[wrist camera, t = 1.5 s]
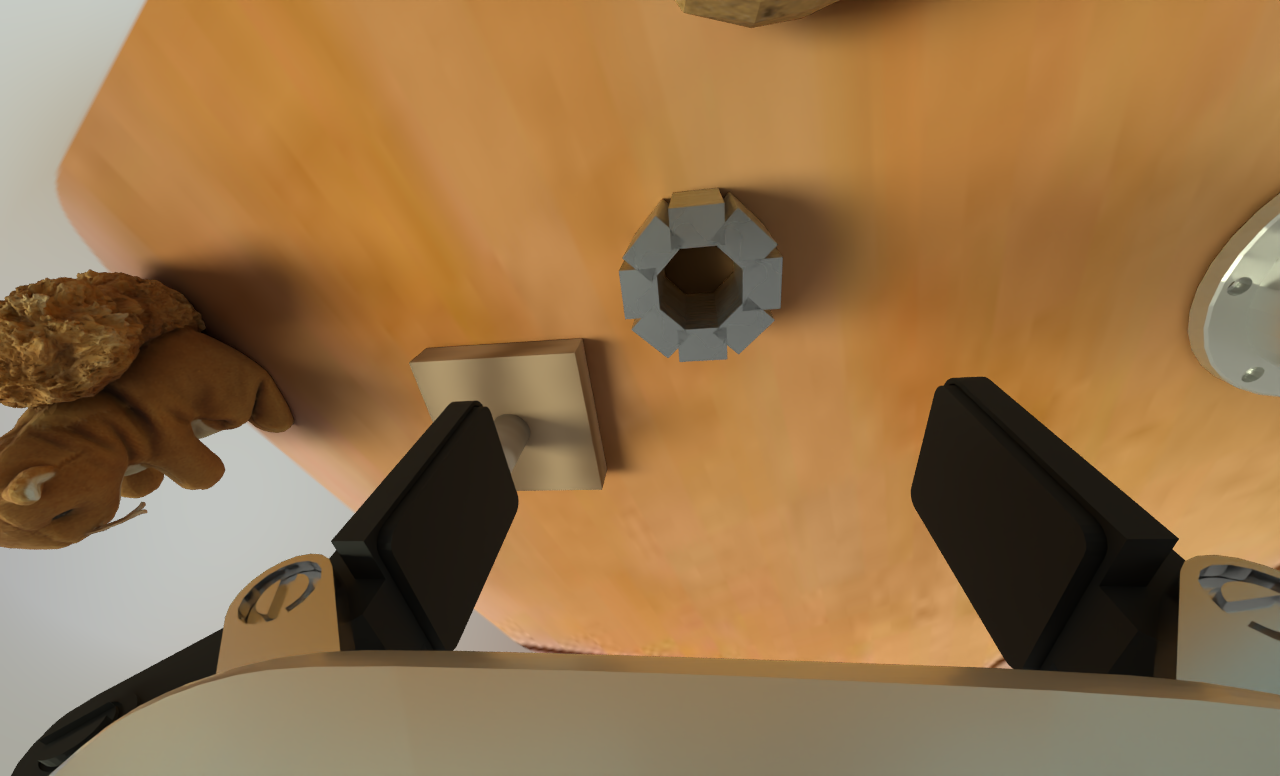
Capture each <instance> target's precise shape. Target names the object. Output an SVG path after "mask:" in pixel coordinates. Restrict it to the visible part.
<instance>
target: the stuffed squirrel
mask: <svg viewBox="0 0 1280 776" xmlns="http://www.w3.org/2000/svg"><path fill="white" fill-rule="evenodd" d="M77 277H78V278H77V279H72V278H66V277H63V278H62V277H61V278H58V279H48V278H45V280H41V281H38V282H37V283H36V284H29V285H24V286H19V287H17V288H16V291H12V292H11V293H10V295H9V296H6V297H5V301H1V300H0V403H2V404H3V405H5V406H9V407H13V408H16V407H17V408H26V407H28V409H27V410H26V411H25V413H23V415H22V416H21V417H20V418H19V419H18V421H17V424H16V425H15V427H14V428H13V429H12V430H10V431H9V432H8V433H6V434H5V435H3V436H2V437H0V547H6V548H19V549H20V548H21V549H59V548H63V547H67V546H69V545H71V544H73V543H77V542H79V541H81V540H83V539H84V538H86V537H88V536H89V535H91V534H93V533H97V532H101V531H104V530H107V529H109V528H110V527H113V526H115V525H118V524H121V523H123V522H125V521H127V520H129V519H131V518H134V517H136V516H137V515H140V514H143V513H147V510H141V509H142V508H144V506H145V505H146V504H145V502H141V503H140V505H139V506H138V507H137V508H136V509H135V510H133V511H132V512H131V513H129V514H128V515H127V516H125V517H124V518H121V519H119V520H117V521H114V522H111V523H109V522H110V521H111V520H112V519H113V518H114V516H115V514H116V512H117V510H118V508H119V504H120V499H121V496H122V497H129V498H140V497H144V496H146V495H148V494H150V493H151V492H153V491H154V490H156V489H157V488H158V487H159V486H160V484H161V482H162V481H163V478H164V474H165V475H166V476H168V477H169V478H170V479H172V480H173V481H174V482H176V483H177V484H178V485H180V486H181V487H182V488H185V489H190V490H196V489H202V490H204V489H208V488H210V487H212V486H213V485H214V484H216V483H217V482H218V481H219V480H220V479H221V477H222V476H223V474H224V472H225V467H224V464H223V463H222V461H221V459H220V458H219V457H218V456H217V455H216V454H215V453H213V452H212V451H211V450H210V449H209V448H208V447H206V446H205V445H204V444H203V443H202V442H201V441H200V440H199V439H200V438H204V437H207V436H209V435H212V434H214V433H217V432H219V431H222V430H228V429H234V428H237V427H240V426H241V425H242V424H244V423H246V422H247V421H249V422H250V423H252V424H253V425H254V426H255V427H257V428H259V429H261V430H265V431H268V432H275V433H280V432H285V431H286V430H287V429H289V428H290V427H291V425H292V424H293V422H294V420H293V417H292V414H291V412H290V409H289V407H288V405H287V403H286V401H285V400H284V398H283V396H282V394H281V393H280V391H279V390H278V388H277V386H276V385H275V383H274V381H273V379H272V378H271V376H270V375H269V374H268V372H267V371H266V370H264V369H263V368H262V367H261V366H259V365H258V364H257V363H256V362H254V361H253V360H251V359H250V358H248V357H247V356H245V355H244V354H242V353H241V352H239V351H237V350H236V349H234V348H232V347H230V346H228V345H226V344H224V343H222V342H220V341H218V340H216V339H214V338H212V337H210V336H208V335H205V334H203V333H200V332H201V331H203V330H204V329H205V328H206V327H205V326H204V325H205V324H204V321H203V320H202V318H201V314H200V313H199V312H197V311H195V310H194V308H193V306H192V304H190V303H189V302H188V300H187V299H186V298H185V297H184V295H183V294H181V293H179V292H178V291H176V290H174V289H170V288H168V287H167V286H165V285H163V284H162V283H161V282H160V281H157V280H154V279H153V280H148V279H145V280H144V279H141V278H139V277H137V276H134V277H133V276H131V275H128V274H125V273H121V272H120V273H117V272H115V273H107V272H103V273H98V272H94V271H92V270H89V271H88V272H85V273H81V274H79V273H78V274H77ZM107 523H108V524H107Z"/></svg>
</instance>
